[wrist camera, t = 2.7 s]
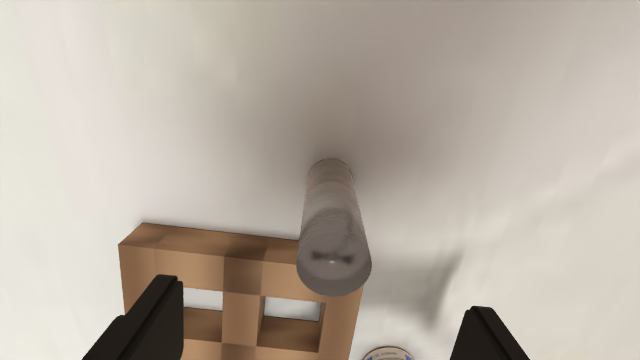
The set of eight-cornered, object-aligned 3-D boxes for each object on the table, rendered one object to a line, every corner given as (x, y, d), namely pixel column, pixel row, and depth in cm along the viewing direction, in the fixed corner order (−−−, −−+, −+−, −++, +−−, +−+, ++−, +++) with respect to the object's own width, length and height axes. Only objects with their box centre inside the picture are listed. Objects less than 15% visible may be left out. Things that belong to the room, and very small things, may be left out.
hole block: (361, 248, 24) (366, 272, 22) (341, 350, 28) (343, 383, 25) (142, 222, 24) (118, 244, 21) (149, 330, 27) (129, 361, 24)
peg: (355, 161, 22) (377, 237, 13) (348, 202, 23) (364, 300, 14) (310, 156, 22) (300, 228, 13) (305, 197, 23) (292, 292, 14)
